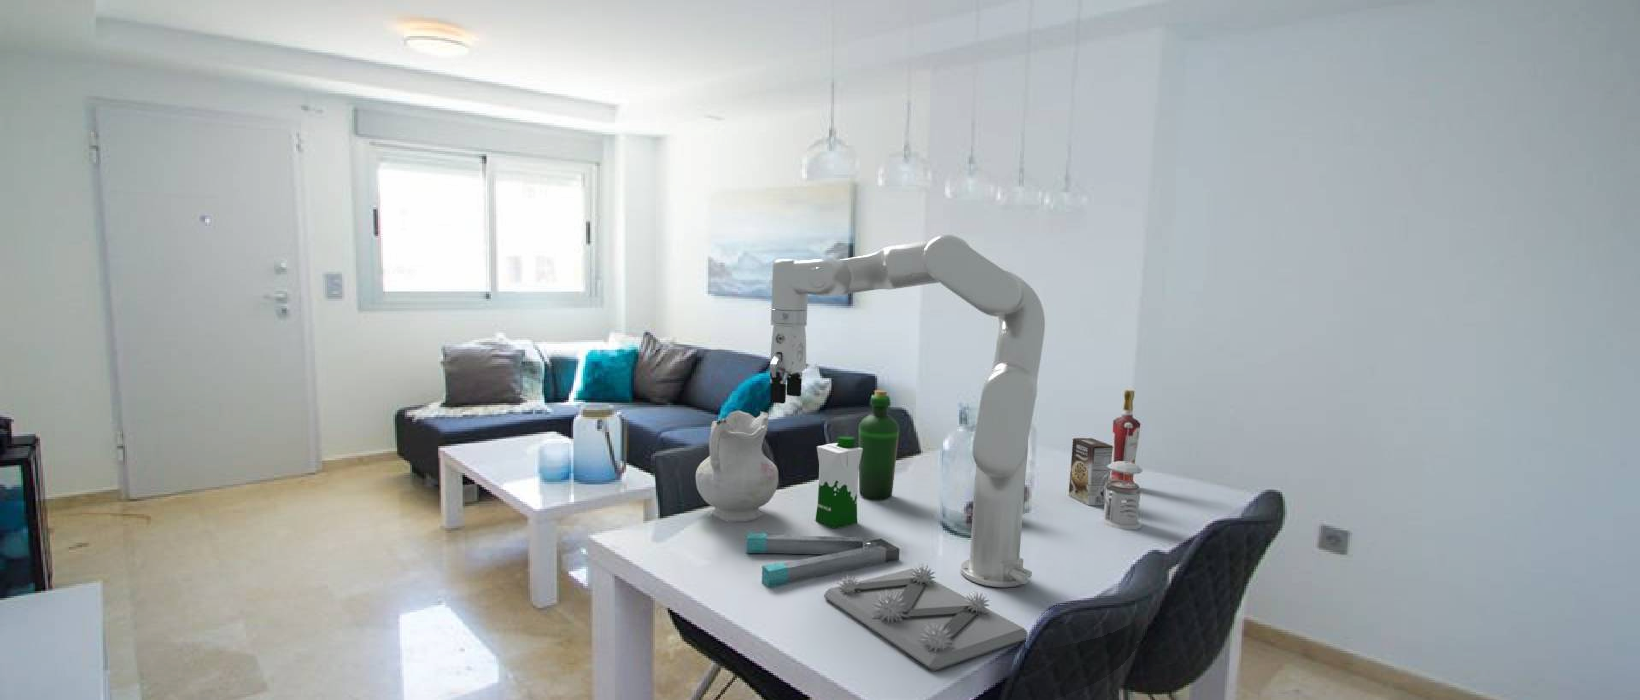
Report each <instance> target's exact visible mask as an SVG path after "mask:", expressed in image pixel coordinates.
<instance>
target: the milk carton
mask: <svg viewBox="0 0 1640 700" xmlns="http://www.w3.org/2000/svg"><path fill="white" fill-rule="evenodd" d="M855 442H856V437H854V436H853V435H839V436H838V437H837V442H833V443H826V444H824V445H818V446H816V451H817V457H818V464H819V468H818V494H817V503H816V504H817V505H816V506H817V507H816V512H815V522H817V523H819V524H822V525H824V526H827V527H830V528H832V529H834V530H836V529H841V528H844V527H847V526H848V527H849V526H851V525H855V524H858V491H859V490H858V489H859V463H860V459H861V455H862V450H863V449H862V448H859V446H856V445H855V444H856V443H855Z"/></svg>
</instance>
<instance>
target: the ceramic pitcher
mask: <svg viewBox="0 0 1640 700" xmlns="http://www.w3.org/2000/svg"><path fill="white" fill-rule="evenodd" d="M759 412H760V414H759V415H758V416H757V417H754V416H753V415H752V414H750V413H749V412H744V411H742V410H736V411H735V410H734V411H732V412H729V413H728V414H727V416H726V417H725V418H722V417H721V418H719V419H717V420H713V421H712V422H711V426H710V435H709V441H708V442H709V445H708V449H709V456H708V457H707V458H705V459H704V460H703V461H702V462H700V464H699V465H698V467H697V468H696V471H695V484H696V490H697V491H698V493H699V495H700V496H701V498H702V499H703V501H705V502H706V503H707V504H708V505H709V506H711V507H713V508H714V509H713V510H712V511H711V512H712V516H713V518H715V519H716V520H720V521H727V522H730V523H738V522H748V521H749V522H750V521H754V520H755V519H757V518H759V517H760V516H761V514H762V513H763V510H761V508H760V507H763V506H765V505H766V504H767V503H769V502H770V501H771V499H772V498H773V496H774V495H775V493H776V491H777V488H778V484H779V469H778V468H777V465H775V464H774V462H773V461H771V460H770V459H769V458H768V457H767V456H765V454H764V451H763V449H762V446H763V442H764V439H765V436H766V434H767V432H768V426H769V416H768V415H769V413H768V412H765V411H761V410H760V411H759Z"/></svg>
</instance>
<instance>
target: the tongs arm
mask: <svg viewBox="0 0 1640 700" xmlns="http://www.w3.org/2000/svg"><path fill="white" fill-rule="evenodd" d="M746 534H747V535H746V549H745V550H746V554H747V553H749V554H797V555H828V554H833V553H838V552H843V551H849V550H854V549H859V548H864V547H868V548H872V547H877V543H876V542H874V541H871V540H866V541H865V542H864V539H863V537H862V536H861V537H860V536H859V537H858V536H830V535H829V536H827V535H826V536H825V535H824V536H823V535H822V536H821V535H794V534H791V535H789V534H788V535H786V534H768V533H764V532H762V533H761V532H747V533H746Z"/></svg>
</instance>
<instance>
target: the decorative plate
mask: <svg viewBox="0 0 1640 700" xmlns="http://www.w3.org/2000/svg"><path fill="white" fill-rule="evenodd" d="M928 567H929V563H927V565H926V566H925V567H924V564H923V563H921V565H920V564H918V568H917V567H916V566H915V565H913V567H911V568H909V569H905V570H901V571H897V572H892V573H888V574H884V575H881V576H876V577H871V578H868V579H863V580H859V578H857V579H855V578H856V575H854V576H853V577H852V578H851V576H848V575H846V579H845V577H843V575H841V577H842V578H840V581H841V582H842V583H839V582H836V584H837V585H839V586H835V587H830V588H828V589H827V590H826V591H825V592H824V594H823V597H824V598H825V599H826V600H827V601H828V602H831V603H832V604H833V605H835V606H837V607H838V608H839V609H840V610H842V611H844V612H845V613H847V614H848V615H850V616H851V617H852V618H854V619H856V620H857V621H859V622H860V623H861V624H862V625H864V626H866V627H867V628H869V629H870V630H871V631H873V632H875V633H876V634H878V635H879V636H880V637H882V638H884V639H885V640H887V641H888V642H889V643H891V644H892V645H894V646H895V647H897V648H898V649H900V650H901V651H902V652H904V653H906V654H907V655H909V656H910V657H912V658H913V659H915V660H916V661H918V662H919V663H921V664H922V665H924V666H925V667H926V668H928V669H929V670H931V671H933V672H935V671H938V670H941V669H944V668H947V667H951V666H953V665H956V664H959V663H962V662H964V661H965V662H966V661H968V660H970V659H973V658H976V657H979V656H981V655H985V654H988V653H990V652H993V651H997V650H1000V649H1002V648H1004V647H1008V646H1011V645H1014V644H1017V643H1020V642H1023V641H1024V640H1026V639H1027V638H1026V637H1027V635H1028V636H1029V633H1028V631H1027V630H1026V629H1025V628H1024V627H1022V626H1021V625H1019V624H1018V623H1015V622H1014V621H1011V620H1010V619H1008V618H1006V617H1004V616H1002V615H1000V614H998V613H996V612H994V611H992V610H990V609H989V608H987V607H990V606H991V605H990V604H988V603H987V602H990V599H986V598H987V596H985V595H984V596H983V592H980V594H979V593H978V591H976V592H974V591H972V592H973V596H972V595H971V594H970V593H968V596H967V595H966V596H964V595H962V594H960V593H958V592H957V591H954V590H952V589H951V588H949V587H947V586H945V585H944V584H941V582H940V583H939V582H938V581H936V580H934V579H936V577H935V576H932V575H933V574H936V571H932V567H930V568H928ZM931 571H932V572H931ZM858 580H859V581H858ZM1025 638H1026V639H1025Z"/></svg>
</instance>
